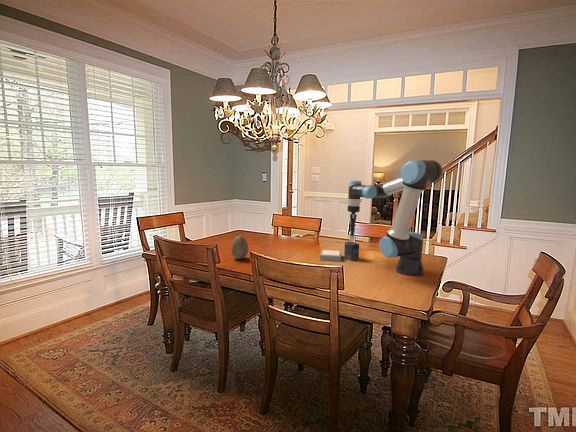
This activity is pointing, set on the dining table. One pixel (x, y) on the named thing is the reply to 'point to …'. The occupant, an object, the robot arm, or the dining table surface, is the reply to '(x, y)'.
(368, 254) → the dining table surface
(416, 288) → the dining table surface
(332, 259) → the plinth
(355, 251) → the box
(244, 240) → the decorative egg
